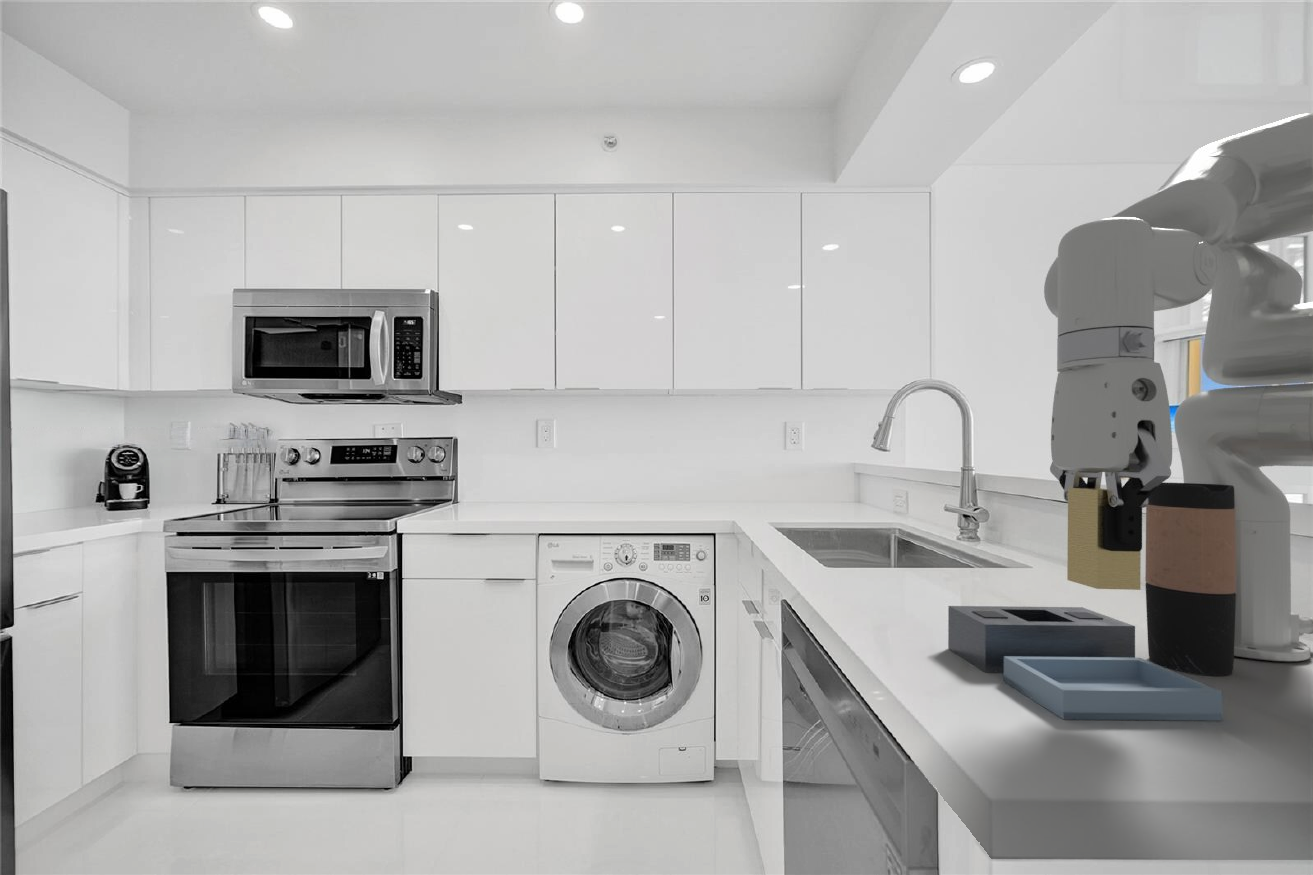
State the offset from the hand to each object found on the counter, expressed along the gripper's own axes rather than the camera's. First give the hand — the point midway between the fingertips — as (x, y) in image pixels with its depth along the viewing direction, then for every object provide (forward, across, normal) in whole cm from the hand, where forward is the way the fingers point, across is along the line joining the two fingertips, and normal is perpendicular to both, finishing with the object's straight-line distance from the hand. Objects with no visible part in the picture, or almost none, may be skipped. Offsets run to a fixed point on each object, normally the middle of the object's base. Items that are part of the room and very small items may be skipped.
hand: (1103, 544), depth 59 cm
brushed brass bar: (+4, 0, 0) cm, 4 cm away
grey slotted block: (+14, +11, -1) cm, 18 cm away
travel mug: (+14, +10, -17) cm, 25 cm away
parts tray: (+14, 0, 0) cm, 14 cm away
